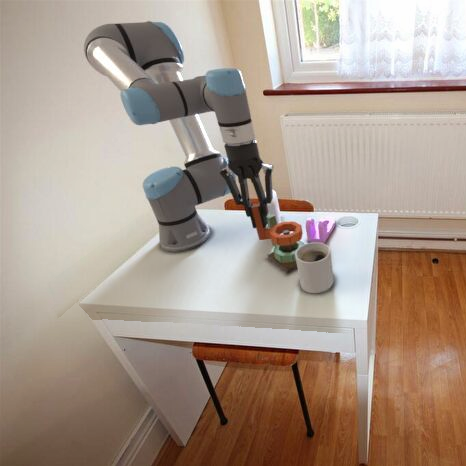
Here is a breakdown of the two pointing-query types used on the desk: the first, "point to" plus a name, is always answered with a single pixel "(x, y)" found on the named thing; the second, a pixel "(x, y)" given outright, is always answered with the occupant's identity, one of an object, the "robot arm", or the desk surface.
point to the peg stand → (284, 266)
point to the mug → (314, 267)
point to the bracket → (319, 229)
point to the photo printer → (274, 208)
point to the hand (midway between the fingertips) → (260, 225)
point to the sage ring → (278, 249)
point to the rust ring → (277, 230)
